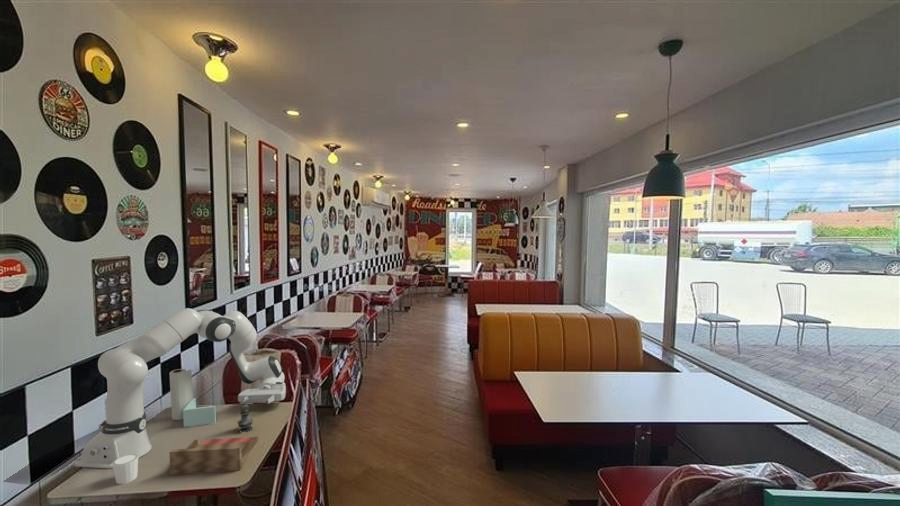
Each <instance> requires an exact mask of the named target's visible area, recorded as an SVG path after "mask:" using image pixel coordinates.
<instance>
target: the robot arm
mask: <svg viewBox="0 0 900 506" xmlns="http://www.w3.org/2000/svg"><path fill="white" fill-rule="evenodd" d="M194 334H197V335H198V336H200V337H201V338H204V339H206V340H208V341H211V342H215V343H219V342H220V343H221V342H224V341H226V340H227V339H228V340H229V341H230V343H229V345H228V351H229V354H230V357H231V359H232V362H233V363H234V365H235V368H236V370H237V371H238V375H239V378H240V380H241V381H242V382H243V383H245V384H247V385H251V384H253V383H255V382H257V381H261V380H262V381H261V383H259V385H258V386H257V387H256V388H246V389H243V390H242V391H240V393H239V394H238V395H237V401H238V402H239V403H244V402H245V403H246V404H248V405H249V403H255V402H256V403H257V402H265V404H266V405H267V404H270V403H272V402H275V401H276V402H277V401H278V402H279V401H283V400H285V398H286V393H287V388H286V387H287V386H286V383H285V374H284V372H283V368H282V364H281V362H280V360H279V359H278V358H277V357H275V356H273V355H268V356H265V357H262V358H260V359H257V360H254V361H247V360H246V357H245V355H244V352H245V351H247V350H248V349H250V348H251V347H252V346H253V345H254V343H255V342H256V340H257V336H258V333H257V331H256V328H255V327H254V325H253V324H252V322H251V321H250V320H249V319H248V318H247V317H246V316H245V315H244V314H243V313H242V312H240V311H239V310H231V311H228V312H227V313H225V314H224V315H221V314H219V313H217V312H215V311H212V310H209V309H198V310H196V309H193V308H189V307H187V308H183V309H181V310H179V311H177V312H175V313H173V314H171V315H169V316H168V317H167V318H165V319H164V320H162V321H160V322H158V323H157V324H156V325H154V326H153V327H152V328H150V329H149V330H147V331H145V332H144V333H141V334H140V335H139V336H137V337H135V338H133V339H131V340H129V341H126V342H125V343H123V344H121V345H118V346H117V347H115V348H112V349H110V350H107V351H105V352H103V353H102V354H101V355H100V356H99V358H98V361H97V368H98V371H99V373H100V374H101V375H102V376H103V377H104V378H106V381H107V393H106V398H105V400H104V406H105V408H104V409H105V420H104V421H102V423H100V424H99V425H98V429H101V431H99V432H98V433H97V434H96V435H95V436H93V437H92V438H91V439H90V440H88V441H87V442H86V443H85V444H84V446H83V450H82V454H81V455H80V456H79V457H77V459H76V460H75V461H74V466H73V467H79V468H81V467H82V468H97V469H113V464H112V463H113V461H114V460H116V459H117V458H119V457H121V456H124V455H128V454H137V455H138V459H139V458H141V457H144V456H145V455H146V454H147V453H149V452H150V451H151V449H152V447H153V445H152V444H151V442H150V439H149V437H148V433H147V415H146V414H147V413H146V411H145V408H144V407H145V406H144V388H145V383H146V377H147V375H148V373H149V369H148V364H147V363H149V362H150V361H153V360H154V359H157V358H159V357H162V356H164V355H166V354H167V353H169V352H170V351H172V350H173V349H174V348H175V347H177V346H178V345H180V344H181V343H182V342H183V341H185V340H186V339H188V337H190V336H192V335H194Z"/></svg>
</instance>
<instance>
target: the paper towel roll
mask: <svg viewBox="0 0 900 506" xmlns="http://www.w3.org/2000/svg"><path fill="white" fill-rule="evenodd" d="M192 374H193V373H192V369H188V370H186V369H185V368H178V369H173V370H171V371H170V372H169V374H168V375H169V388H170V389H169V390H170V407H171V420H172V421H180V420H183V410H184V408H185V407H186V406H187V405H188V404H189V402H190V401H191V400H192V399H193V398H194V396H193V392H194V391H193V378H192Z"/></svg>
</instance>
